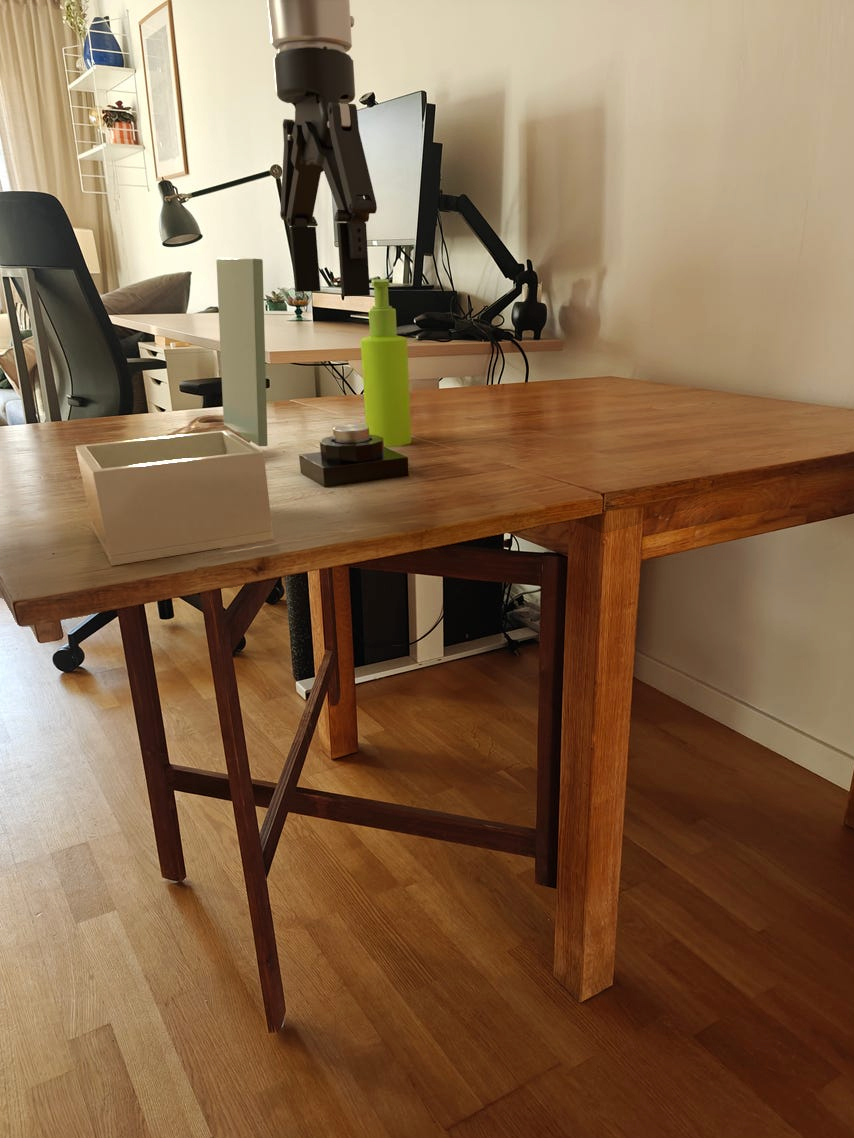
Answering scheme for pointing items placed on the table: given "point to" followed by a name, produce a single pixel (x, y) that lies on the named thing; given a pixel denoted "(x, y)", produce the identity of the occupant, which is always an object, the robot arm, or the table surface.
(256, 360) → the box lid
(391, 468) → the plate
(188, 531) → the wooden box
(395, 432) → the lime green bottle
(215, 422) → the pottery oil lamp
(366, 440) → the silver push button
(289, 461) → the table surface
